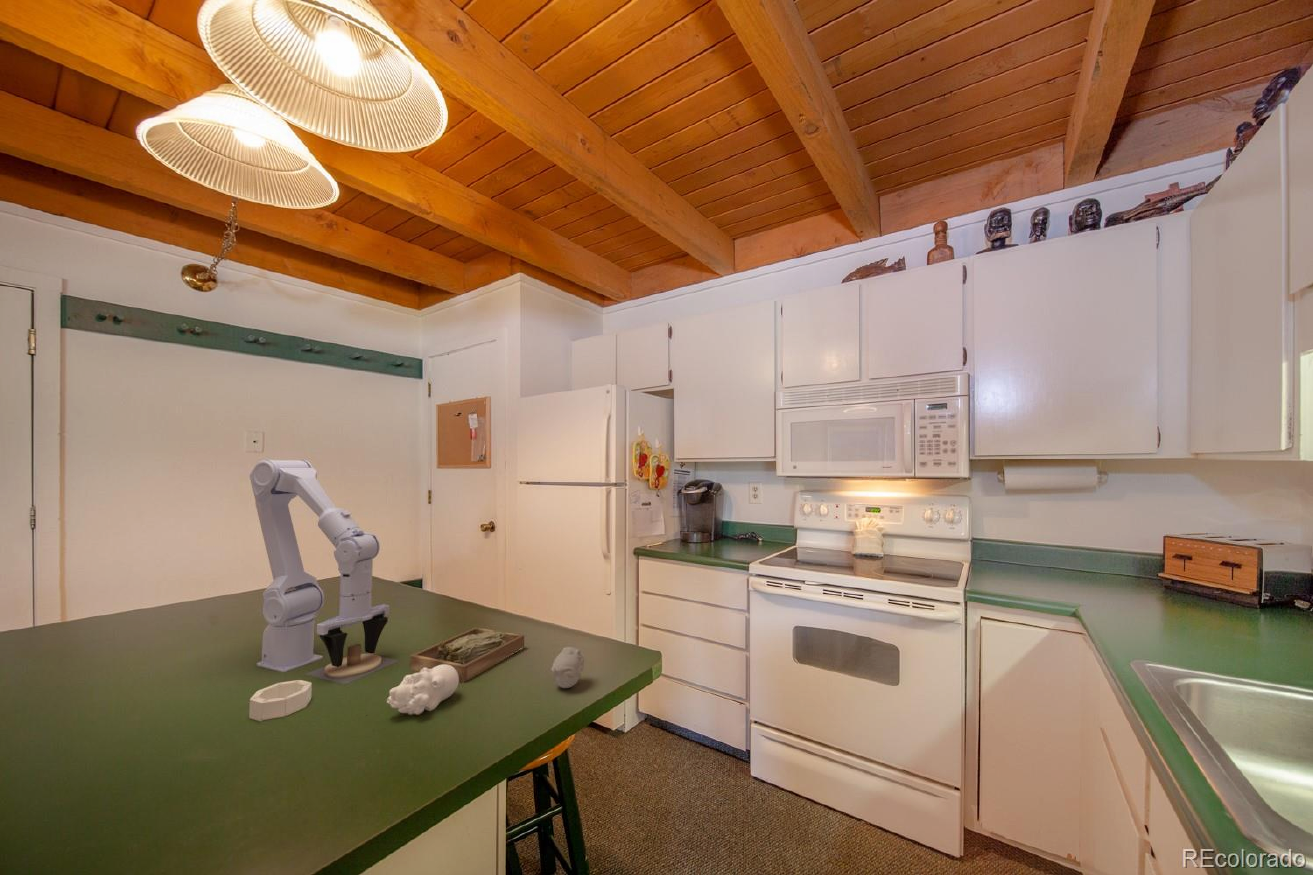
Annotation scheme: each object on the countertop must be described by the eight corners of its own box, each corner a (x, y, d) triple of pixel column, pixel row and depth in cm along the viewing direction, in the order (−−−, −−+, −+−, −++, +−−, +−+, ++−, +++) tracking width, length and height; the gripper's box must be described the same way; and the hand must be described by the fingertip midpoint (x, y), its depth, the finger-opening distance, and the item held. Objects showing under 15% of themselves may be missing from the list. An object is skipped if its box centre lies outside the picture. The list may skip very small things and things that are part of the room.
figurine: (472, 684, 87) (412, 709, 77) (453, 706, 89) (392, 733, 78) (455, 651, 90) (395, 671, 80) (437, 673, 92) (376, 695, 81)
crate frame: (409, 670, 99) (409, 655, 99) (474, 639, 116) (475, 627, 116) (463, 682, 94) (464, 666, 94) (524, 648, 111) (524, 635, 111)
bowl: (240, 714, 82) (241, 696, 82) (291, 694, 89) (292, 677, 89) (269, 724, 79) (270, 705, 79) (319, 702, 86) (320, 684, 86)
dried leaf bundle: (451, 678, 96) (451, 650, 96) (432, 664, 103) (432, 638, 103) (515, 656, 107) (516, 632, 107) (494, 645, 113) (494, 622, 114)
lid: (313, 673, 97) (313, 651, 98) (359, 654, 107) (360, 635, 107) (346, 681, 94) (347, 658, 94) (391, 661, 103) (392, 641, 103)
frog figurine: (590, 681, 94) (591, 645, 94) (570, 697, 87) (570, 658, 88) (565, 676, 96) (565, 640, 97) (543, 690, 90) (543, 653, 90)
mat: (304, 675, 97) (304, 674, 97) (360, 653, 108) (361, 652, 108) (344, 685, 92) (344, 684, 92) (399, 662, 103) (399, 660, 103)
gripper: (334, 604, 93) (331, 676, 92) (399, 586, 106) (398, 649, 105) (310, 600, 95) (308, 670, 95) (377, 583, 109) (375, 644, 108)
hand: (353, 658), depth 100 cm, fingers open, 7 cm apart
